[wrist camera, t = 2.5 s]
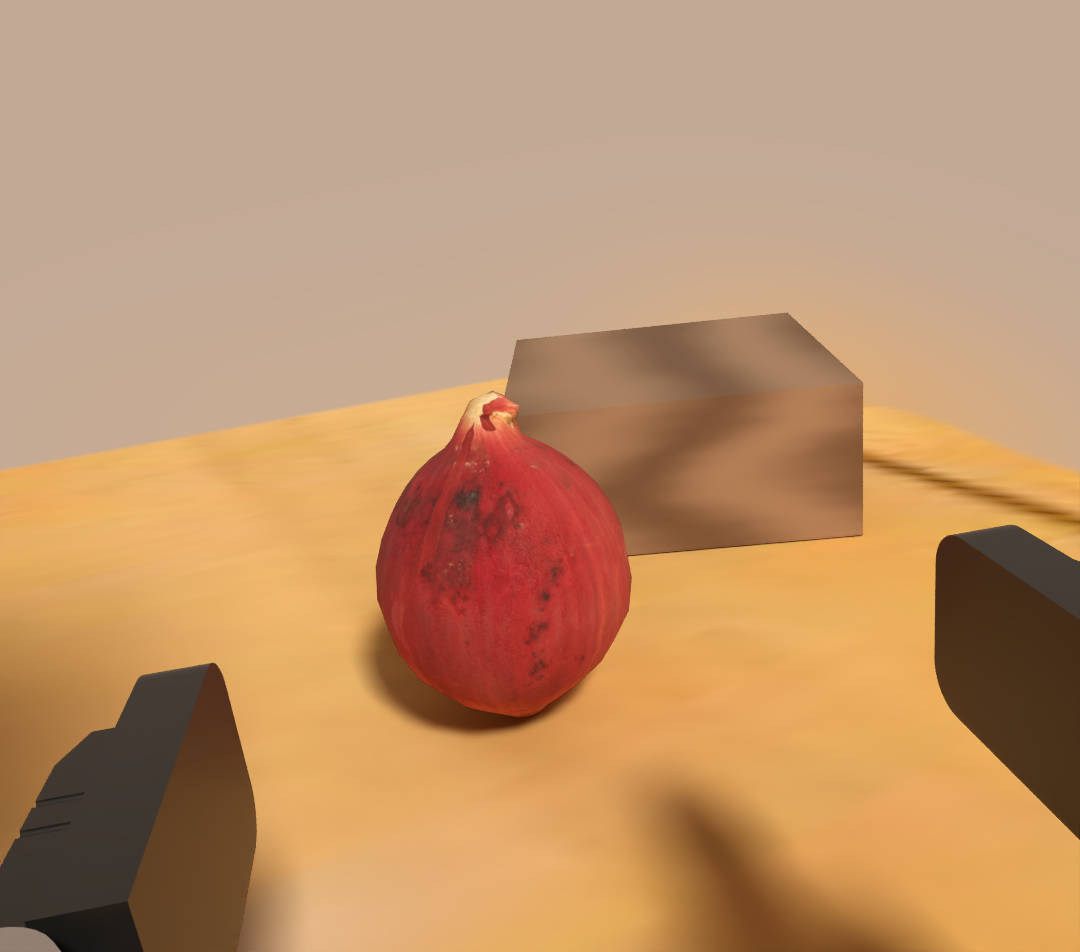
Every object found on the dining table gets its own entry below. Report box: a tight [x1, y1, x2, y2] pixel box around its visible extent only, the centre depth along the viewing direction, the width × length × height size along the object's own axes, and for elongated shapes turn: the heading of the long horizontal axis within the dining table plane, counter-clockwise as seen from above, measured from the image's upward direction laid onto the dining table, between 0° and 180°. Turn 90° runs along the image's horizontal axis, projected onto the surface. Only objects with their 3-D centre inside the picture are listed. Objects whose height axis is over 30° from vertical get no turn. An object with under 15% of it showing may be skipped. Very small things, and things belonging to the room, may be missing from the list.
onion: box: [376, 391, 632, 717], centre depth 23 cm, size 6×6×8 cm
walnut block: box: [505, 313, 863, 555], centre depth 36 cm, size 11×11×5 cm
